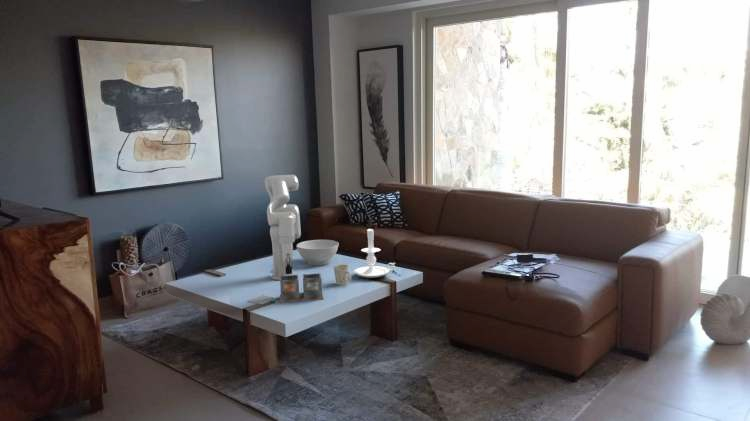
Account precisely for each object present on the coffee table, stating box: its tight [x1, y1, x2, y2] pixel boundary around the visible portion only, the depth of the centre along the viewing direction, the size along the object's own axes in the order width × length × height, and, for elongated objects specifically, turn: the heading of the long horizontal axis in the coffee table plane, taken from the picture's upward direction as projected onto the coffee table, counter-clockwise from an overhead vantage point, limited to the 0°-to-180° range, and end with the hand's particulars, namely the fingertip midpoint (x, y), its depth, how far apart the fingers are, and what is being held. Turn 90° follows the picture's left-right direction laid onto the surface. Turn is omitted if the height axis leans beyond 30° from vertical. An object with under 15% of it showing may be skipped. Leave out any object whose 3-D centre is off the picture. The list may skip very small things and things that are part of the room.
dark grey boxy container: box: [279, 272, 324, 303], centre depth 305 cm, size 22×11×11 cm, turn 99°
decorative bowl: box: [296, 239, 339, 266], centre depth 376 cm, size 27×27×12 cm
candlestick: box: [353, 228, 396, 279], centre depth 340 cm, size 21×25×28 cm
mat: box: [247, 294, 279, 305], centre depth 303 cm, size 11×11×1 cm
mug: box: [333, 263, 352, 286], centre depth 327 cm, size 8×13×10 cm, turn 44°
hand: (288, 271), depth 303 cm, fingers open, 9 cm apart
